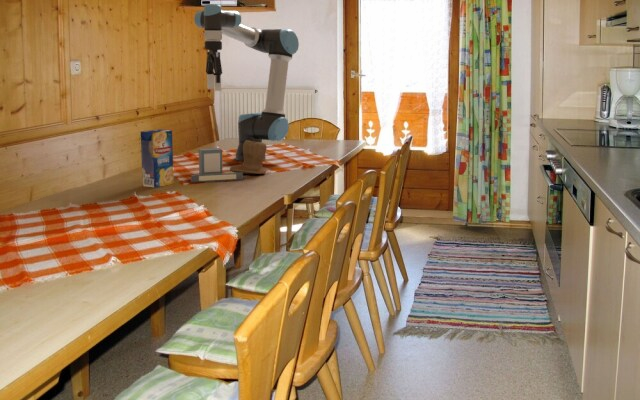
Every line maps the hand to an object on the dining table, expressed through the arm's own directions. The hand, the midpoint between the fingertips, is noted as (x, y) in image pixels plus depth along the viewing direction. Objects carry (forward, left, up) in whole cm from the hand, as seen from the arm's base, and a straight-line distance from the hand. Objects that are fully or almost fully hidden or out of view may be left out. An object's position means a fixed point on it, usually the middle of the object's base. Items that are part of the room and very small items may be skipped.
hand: (214, 89), depth 343 cm
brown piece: (+10, +14, -37) cm, 41 cm away
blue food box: (+25, -30, -37) cm, 54 cm away
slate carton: (+12, -5, -37) cm, 39 cm away
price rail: (+24, -5, -37) cm, 44 cm away
